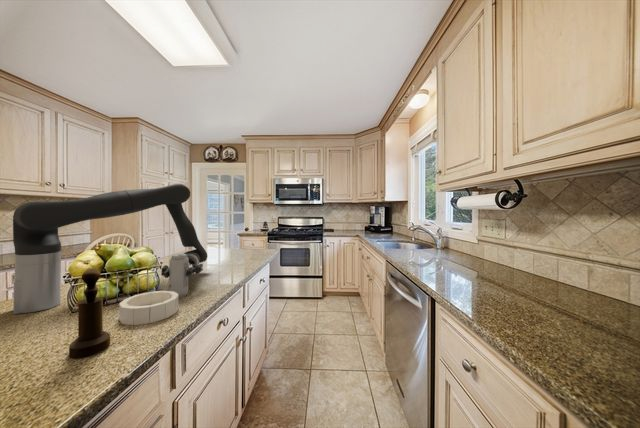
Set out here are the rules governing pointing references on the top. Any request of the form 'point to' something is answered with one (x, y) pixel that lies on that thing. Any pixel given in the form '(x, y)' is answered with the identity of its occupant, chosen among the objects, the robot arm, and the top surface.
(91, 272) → the dark brown wooden stand
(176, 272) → the energy drink can
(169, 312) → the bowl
